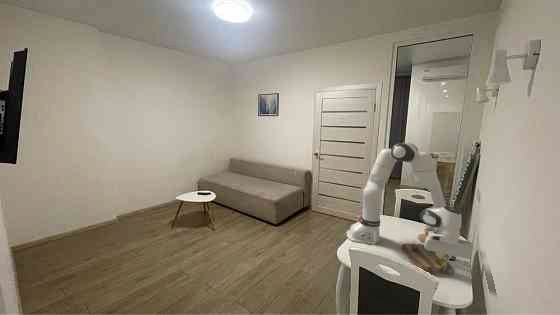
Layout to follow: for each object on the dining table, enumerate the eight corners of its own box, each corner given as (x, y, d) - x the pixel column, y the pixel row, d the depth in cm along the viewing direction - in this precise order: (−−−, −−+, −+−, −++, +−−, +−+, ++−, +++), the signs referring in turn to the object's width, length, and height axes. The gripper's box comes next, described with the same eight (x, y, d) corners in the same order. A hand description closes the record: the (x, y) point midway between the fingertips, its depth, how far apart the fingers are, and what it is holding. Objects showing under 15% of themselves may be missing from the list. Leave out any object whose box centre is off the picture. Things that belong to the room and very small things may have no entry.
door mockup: (421, 273, 114) (422, 262, 113) (402, 249, 135) (402, 239, 134) (453, 275, 112) (455, 264, 111) (428, 250, 134) (429, 241, 133)
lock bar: (430, 251, 125) (431, 246, 125) (435, 252, 125) (436, 247, 124) (440, 265, 113) (441, 260, 112) (447, 266, 112) (447, 261, 112)
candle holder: (443, 246, 139) (447, 217, 136) (422, 244, 141) (425, 215, 138) (433, 236, 151) (437, 209, 148) (414, 234, 153) (417, 208, 150)
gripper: (471, 239, 112) (468, 263, 114) (425, 230, 121) (422, 253, 123) (475, 245, 106) (472, 270, 108) (426, 235, 115) (424, 259, 118)
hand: (445, 261), depth 116 cm, fingers closed
